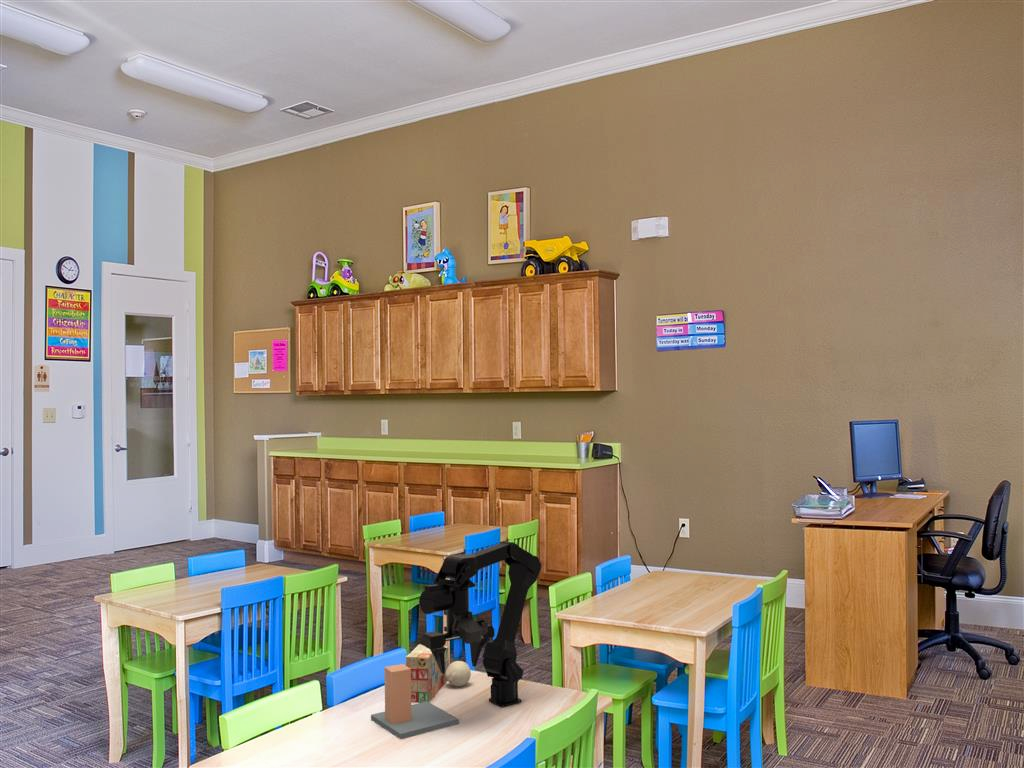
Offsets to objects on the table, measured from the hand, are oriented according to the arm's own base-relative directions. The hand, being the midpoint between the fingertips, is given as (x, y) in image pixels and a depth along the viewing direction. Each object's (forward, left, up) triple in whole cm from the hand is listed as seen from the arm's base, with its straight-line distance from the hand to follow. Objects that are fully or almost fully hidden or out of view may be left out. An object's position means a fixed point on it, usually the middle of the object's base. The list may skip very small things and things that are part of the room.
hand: (458, 669), depth 208 cm
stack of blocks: (-5, -24, -12) cm, 28 cm away
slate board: (+10, -5, -12) cm, 16 cm away
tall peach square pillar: (+14, -6, -11) cm, 19 cm away
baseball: (-13, -22, -12) cm, 28 cm away
